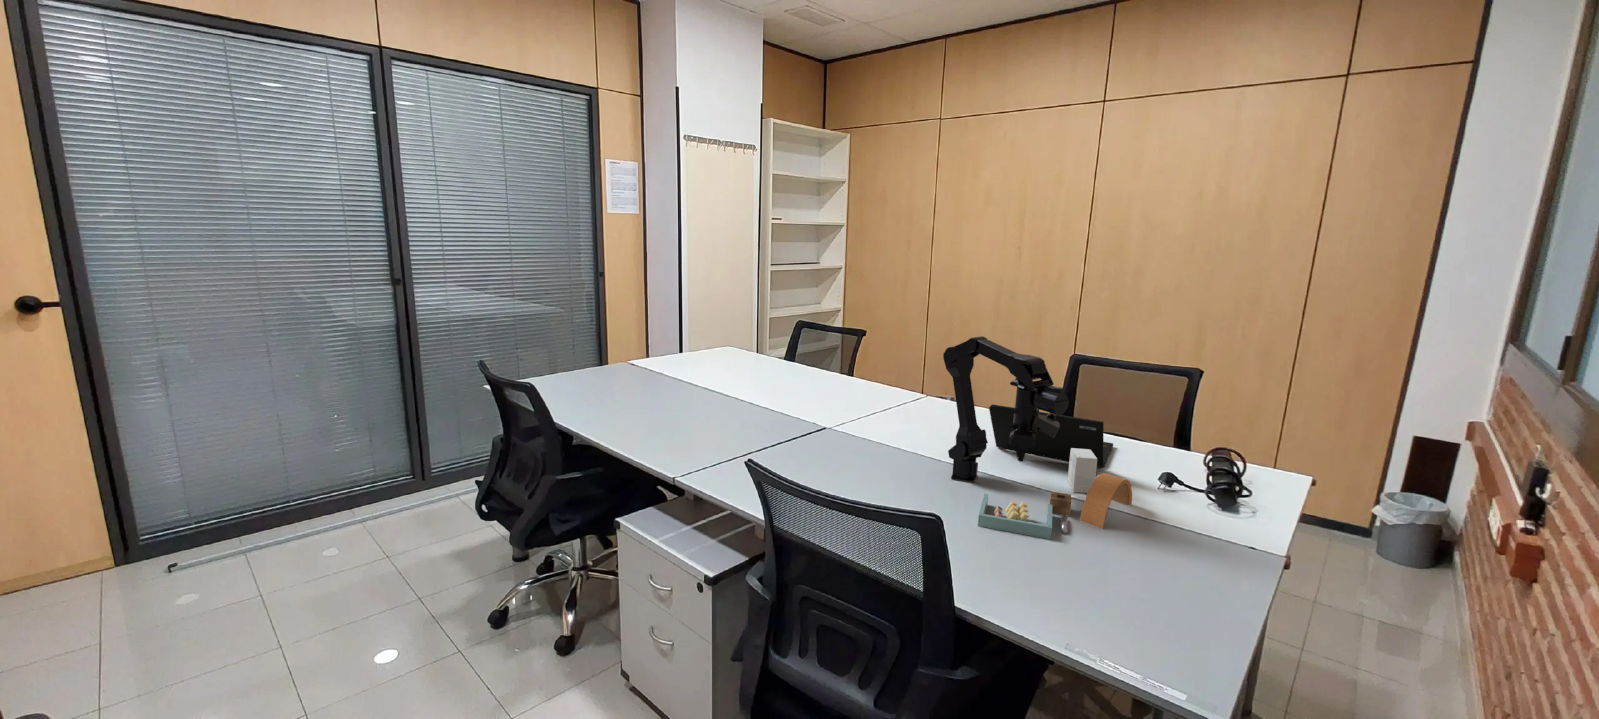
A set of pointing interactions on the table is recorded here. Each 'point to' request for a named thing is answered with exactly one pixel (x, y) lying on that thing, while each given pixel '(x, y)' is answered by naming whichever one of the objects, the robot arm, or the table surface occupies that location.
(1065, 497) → the bored block
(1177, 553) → the table surface
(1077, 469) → the small box
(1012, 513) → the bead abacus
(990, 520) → the tray
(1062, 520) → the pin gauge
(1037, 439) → the laptop
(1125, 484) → the arch
